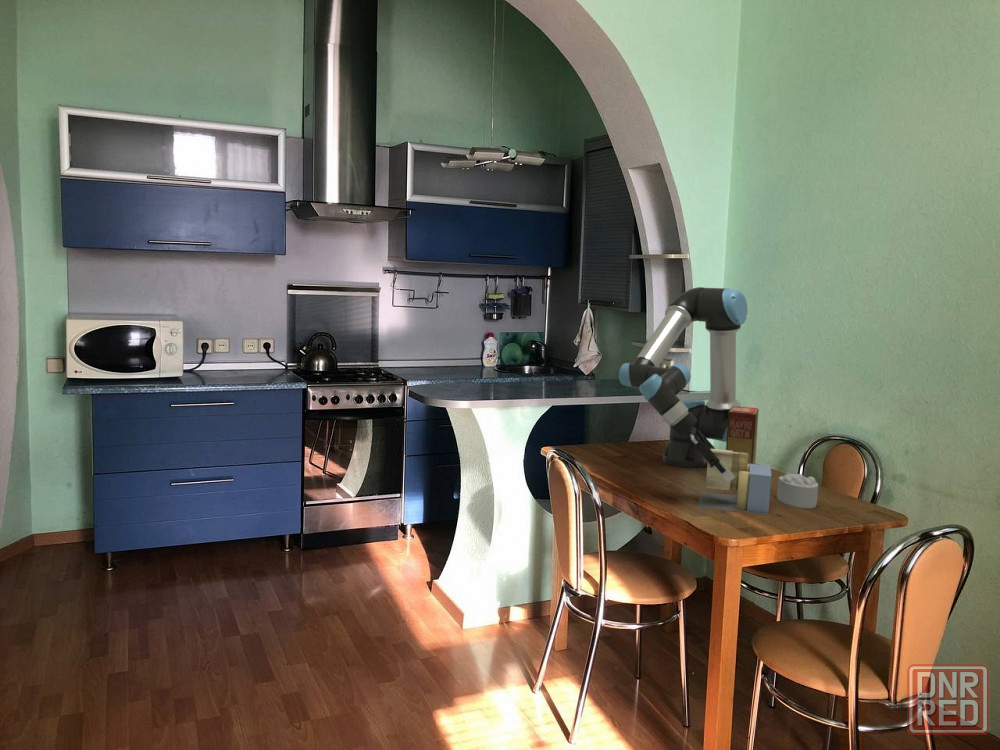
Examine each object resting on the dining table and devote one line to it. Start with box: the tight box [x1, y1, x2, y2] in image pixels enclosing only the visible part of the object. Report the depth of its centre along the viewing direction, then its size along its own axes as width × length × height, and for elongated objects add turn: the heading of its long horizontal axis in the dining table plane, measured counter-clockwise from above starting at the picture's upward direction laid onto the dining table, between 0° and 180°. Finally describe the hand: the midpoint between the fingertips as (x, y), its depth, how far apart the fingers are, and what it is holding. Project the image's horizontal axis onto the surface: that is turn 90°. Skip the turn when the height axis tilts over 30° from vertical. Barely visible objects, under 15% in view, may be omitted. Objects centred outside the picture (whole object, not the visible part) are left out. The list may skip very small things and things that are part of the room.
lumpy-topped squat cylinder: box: [776, 473, 819, 509], centre depth 255 cm, size 10×13×9 cm
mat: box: [697, 491, 769, 516], centre depth 252 cm, size 18×20×1 cm
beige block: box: [705, 448, 748, 491], centre depth 251 cm, size 5×12×11 cm, turn 74°
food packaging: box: [725, 406, 759, 464], centre depth 276 cm, size 13×9×25 cm
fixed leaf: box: [736, 463, 772, 514], centre depth 249 cm, size 14×9×11 cm, turn 164°
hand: (731, 477), depth 250 cm, fingers closed on beige block, 5 cm apart
